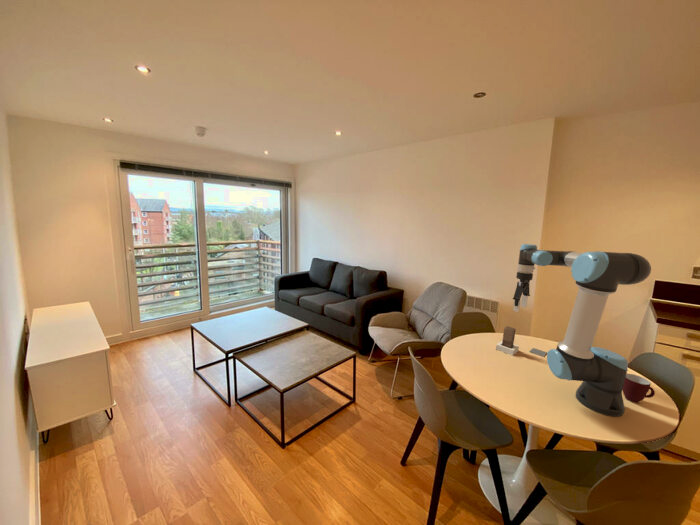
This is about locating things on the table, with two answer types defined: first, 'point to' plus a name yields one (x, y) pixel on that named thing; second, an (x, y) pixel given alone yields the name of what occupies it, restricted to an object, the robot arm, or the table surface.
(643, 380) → the mug
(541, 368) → the table surface
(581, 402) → the robot arm
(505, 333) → the peg
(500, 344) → the socket block
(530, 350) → the mat
